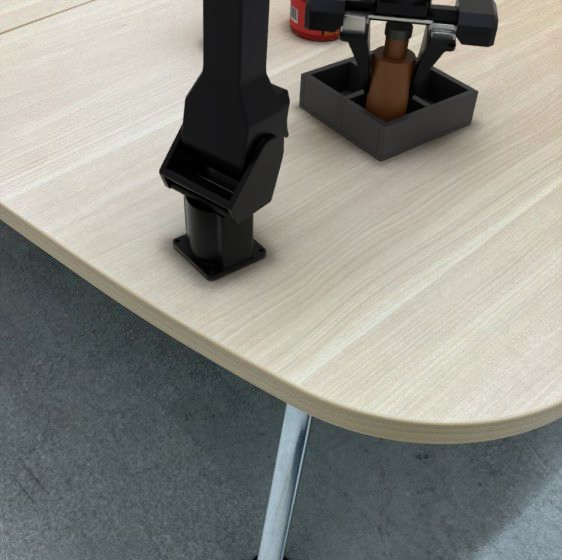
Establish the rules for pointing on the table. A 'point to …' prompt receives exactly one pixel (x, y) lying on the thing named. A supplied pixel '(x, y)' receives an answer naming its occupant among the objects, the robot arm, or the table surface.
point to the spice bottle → (391, 73)
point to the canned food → (298, 24)
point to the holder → (372, 130)
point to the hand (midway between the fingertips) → (388, 94)
